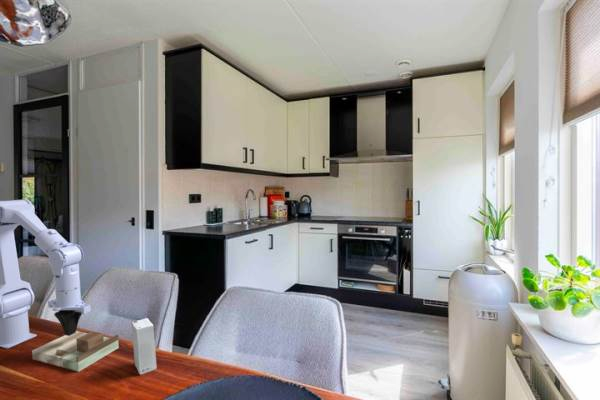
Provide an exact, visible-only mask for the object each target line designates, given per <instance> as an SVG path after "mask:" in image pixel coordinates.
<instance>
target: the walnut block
mask: <svg viewBox="0 0 600 400" xmlns="http://www.w3.org/2000/svg"><path fill="white" fill-rule="evenodd" d="M86 333H87V334H85V335H83V336H81V337H79V338H77V339H76V342H77V351H79V352H86V351H88V350H89V349H91V348H93V347H95V346H97V345H99V344H100V343H102V342H104V338H103V337H104V333H102V332H96V331H93V330H91V331H89V332H86Z"/></svg>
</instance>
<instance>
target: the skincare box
mask: <svg viewBox="0 0 600 400" xmlns="http://www.w3.org/2000/svg"><path fill="white" fill-rule="evenodd" d="M131 335H132V344H133V347H132V348H133V358H134V366H135V368H136V370H137V372H138V374H139V375H144V374H147V373H149V372H152V371H155V370H157V357H156V342H155V330H154V324H153V323H152V322H151V321H150V320H149V318H148V317H146V318H141V319H138V320H135V321H132V322H131Z"/></svg>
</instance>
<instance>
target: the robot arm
mask: <svg viewBox="0 0 600 400" xmlns="http://www.w3.org/2000/svg"><path fill="white" fill-rule="evenodd" d="M35 213H36V212H35V204H33V203H32V202H31V201H30V200H29V199H27V198H23V199H13V200H0V347H1V348H3V349H10V348H12V347H15V346H16V345H19V344H21V343H23V342H26V341H28V340H31V339H33V338H35V337H37V336H38V335H37V334H35V333H32V332H30V325H29V323H30V322H29V310H30V309H31V306H32V305H33V304H34V302H35V294H34V291H33V289H32V286H31V283H30V282H28V281H25V280H23V279H21V275H20V274H21V273H20V266H19V260H18V252H17V247H16V240H15V234H14V230H16V229H17V227H18V226H21V227H23V228H24V229H25V230H26V231H27V232H28V233H30V234H31V235H32V236H34V237H35V238H34V244H35V245H36V246H37V247H38V248H39V249H40V250H41V251H42V252H44V254H45V255H47V256H48V258H47V262H48V265H49V267H50V269H51V273H52V275H53V276H54V285H55V286H54V288H55V298H54V299H49V300H47V306H48V308H49V309H51V308H52V309H51V310H52V311H54V315H53V316H54V317H55V318H56V319H57V320H58V322H59V324H60V326H61V328H62V330H63V332H64V336H65V335H67V336H70V335H72V334H74V333H76V331H77V328H78V324H79V320H80V318H81V316H82V315H86V314H88V313H91V310H92V309H91V305H90V304H88V303H86V302H85V301H83V300H82V299H81V298H82V296H81V279H80V275H81V274H80V264H81V263H82V262H83V260H84V257H85V256H84V255H85V254H84V250H83V248H81V246H80V245H79V244H76V243H75V244H74V243H72V242H68V241H67V239H65V238H64V237H63V236H62V235H61V234H60V233H59V232H58V231H57V230H56V229H53V228H48V227H46V225H45V224H44V223H43V222H42V220H41V219H40V218H39V217H38V216H37V214H35Z"/></svg>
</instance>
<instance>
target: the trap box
mask: <svg viewBox="0 0 600 400" xmlns="http://www.w3.org/2000/svg"><path fill="white" fill-rule="evenodd" d="M87 333H88V332H84V331H83V332H82V331H79V330H76V333H74V334H72V335H70V336H67V335H65V334H64V335H63V336H61V337H59V338H56V339H54V340H52V341H50V342H48V343H45V344H44V345H41V346H39V347H37V348H35V349H32V350H31V352H32V353H31V354H32V360H33V361H35V360H36V361H38V362H42V363H46V364H49V365H53V366H56V367H60V368H64V369H67V370H71V371H75V372H81V371H82V370H84V369H86V368H88V367H90V366H91V365H92V364H94V363H95V362H97V361H99V360H101V359H103V358H105V356H107V355H109V354H110V353H112V352H114V351H116V350H117V349H120V347H119V335H118V334H115V335H113V336H112V337H107V336H103V338H104V342H102V343H100V344H99V345H97V346H95V347H93V348H91V349H89V350H88V351H86V352H79V351H77V342H76V339H77V338H79V337H81V336H83V335H85V334H87Z"/></svg>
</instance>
